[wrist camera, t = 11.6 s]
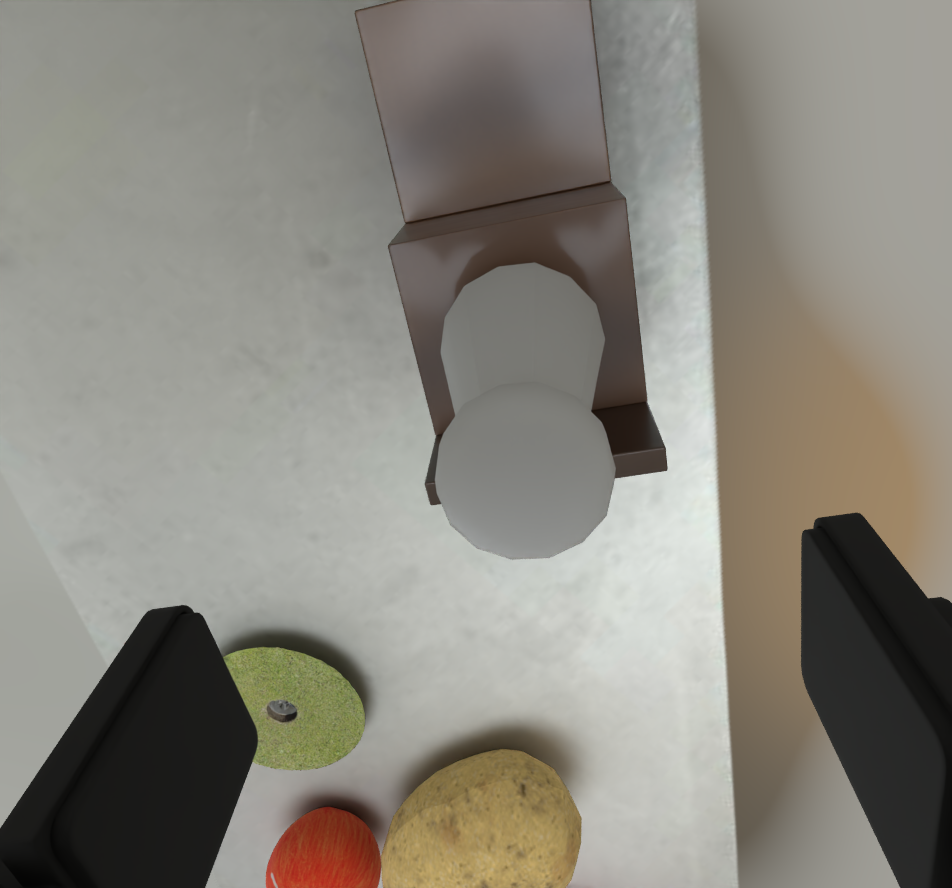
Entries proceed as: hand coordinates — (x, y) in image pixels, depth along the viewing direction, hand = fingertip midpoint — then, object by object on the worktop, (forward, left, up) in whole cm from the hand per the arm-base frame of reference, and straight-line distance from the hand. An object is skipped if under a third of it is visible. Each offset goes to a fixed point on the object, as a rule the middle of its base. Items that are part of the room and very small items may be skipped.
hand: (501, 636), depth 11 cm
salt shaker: (+1, -1, -19) cm, 19 cm away
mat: (-3, -33, -28) cm, 43 cm away
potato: (+12, -35, -28) cm, 46 cm away
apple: (+4, -45, -28) cm, 53 cm away
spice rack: (-2, +3, -27) cm, 28 cm away
